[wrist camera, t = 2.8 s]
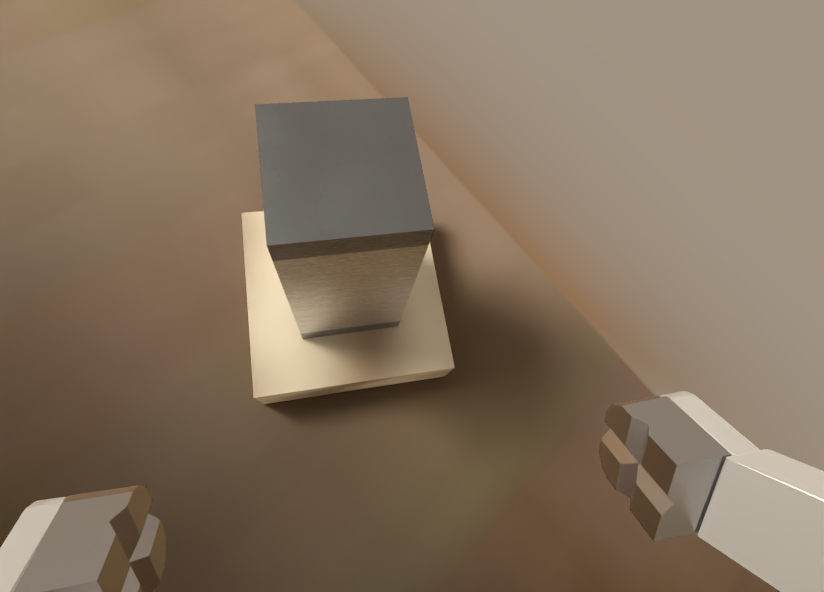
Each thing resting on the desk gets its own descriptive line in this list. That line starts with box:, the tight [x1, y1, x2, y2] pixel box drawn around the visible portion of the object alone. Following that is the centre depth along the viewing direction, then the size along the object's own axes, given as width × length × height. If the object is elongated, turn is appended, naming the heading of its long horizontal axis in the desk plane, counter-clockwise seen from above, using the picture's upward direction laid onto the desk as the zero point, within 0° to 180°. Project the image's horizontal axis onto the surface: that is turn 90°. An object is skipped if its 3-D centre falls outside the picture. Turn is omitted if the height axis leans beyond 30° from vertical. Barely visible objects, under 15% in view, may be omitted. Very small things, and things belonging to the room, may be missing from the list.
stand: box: [242, 211, 455, 404], centre depth 24 cm, size 9×9×2 cm
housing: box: [255, 97, 434, 339], centre depth 18 cm, size 4×4×10 cm
